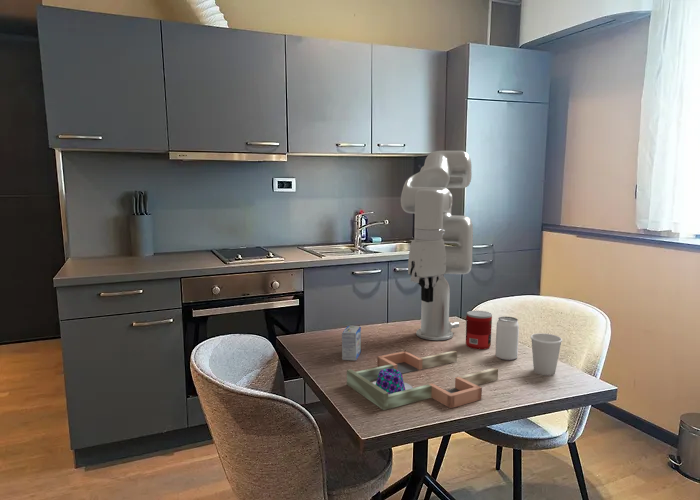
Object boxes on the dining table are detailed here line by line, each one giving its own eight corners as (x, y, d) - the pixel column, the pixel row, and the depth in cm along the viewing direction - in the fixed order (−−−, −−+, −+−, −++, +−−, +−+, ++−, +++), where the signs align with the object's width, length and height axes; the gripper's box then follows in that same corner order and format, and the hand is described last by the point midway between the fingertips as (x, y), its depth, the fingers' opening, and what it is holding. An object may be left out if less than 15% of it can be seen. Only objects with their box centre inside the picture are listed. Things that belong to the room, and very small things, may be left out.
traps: (405, 360, 150) (405, 350, 150) (481, 399, 123) (481, 387, 123) (377, 366, 145) (377, 356, 145) (450, 408, 118) (450, 396, 118)
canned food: (494, 349, 161) (495, 316, 159) (469, 350, 160) (470, 316, 159) (486, 342, 168) (487, 310, 167) (462, 342, 168) (463, 310, 166)
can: (490, 354, 156) (492, 317, 154) (507, 352, 158) (509, 315, 156) (504, 361, 150) (506, 322, 148) (521, 359, 152) (523, 320, 150)
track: (454, 360, 151) (454, 347, 150) (497, 379, 136) (498, 365, 135) (346, 384, 132) (346, 370, 132) (383, 410, 117) (384, 393, 117)
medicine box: (356, 361, 150) (356, 333, 148) (341, 360, 150) (341, 332, 149) (361, 352, 157) (361, 325, 156) (347, 351, 158) (347, 325, 157)
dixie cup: (522, 368, 144) (524, 334, 143) (545, 364, 147) (547, 331, 146) (542, 378, 136) (544, 343, 135) (567, 375, 139) (569, 340, 138)
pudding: (422, 396, 126) (423, 376, 125) (381, 405, 121) (381, 384, 120) (397, 379, 136) (397, 360, 136) (358, 387, 131) (358, 368, 130)
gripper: (440, 231, 142) (438, 294, 145) (397, 235, 134) (396, 301, 137) (458, 234, 136) (456, 300, 139) (415, 239, 128) (413, 308, 131)
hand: (427, 300), depth 138 cm, fingers closed
